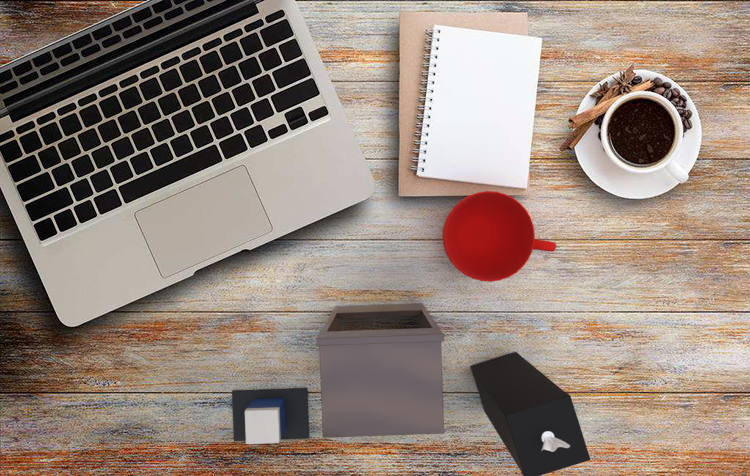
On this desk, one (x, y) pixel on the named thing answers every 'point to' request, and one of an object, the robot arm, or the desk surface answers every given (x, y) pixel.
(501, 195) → the ceramic cup
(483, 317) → the desk surface
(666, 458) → the desk surface
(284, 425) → the box
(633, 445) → the desk surface
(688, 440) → the desk surface
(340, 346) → the square planter pot
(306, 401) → the mat
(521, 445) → the tissue box
